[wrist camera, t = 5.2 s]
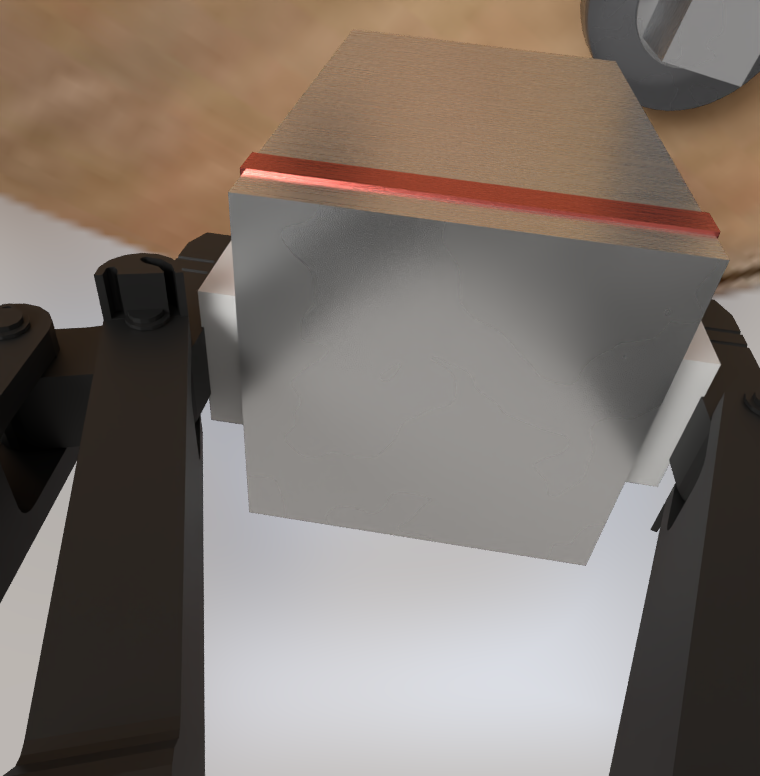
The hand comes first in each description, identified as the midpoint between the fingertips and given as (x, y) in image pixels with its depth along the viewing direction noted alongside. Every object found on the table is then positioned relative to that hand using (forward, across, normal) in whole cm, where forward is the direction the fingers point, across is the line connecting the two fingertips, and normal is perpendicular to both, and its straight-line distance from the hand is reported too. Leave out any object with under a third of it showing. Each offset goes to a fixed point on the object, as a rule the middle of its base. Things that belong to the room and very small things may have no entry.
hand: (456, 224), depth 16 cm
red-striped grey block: (+3, 0, 0) cm, 3 cm away
